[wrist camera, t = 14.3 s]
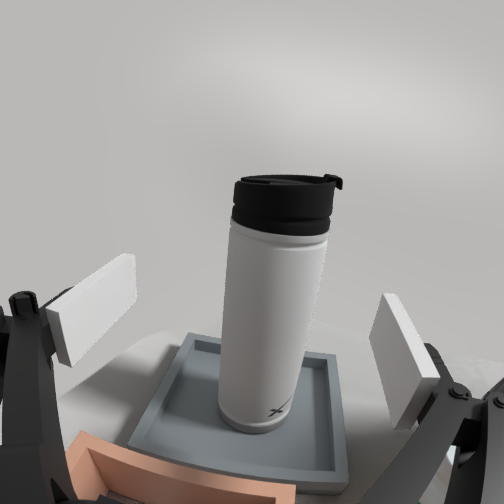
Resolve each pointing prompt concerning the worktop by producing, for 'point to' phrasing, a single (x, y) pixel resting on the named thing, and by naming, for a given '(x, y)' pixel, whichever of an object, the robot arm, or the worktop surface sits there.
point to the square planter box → (159, 478)
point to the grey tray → (241, 443)
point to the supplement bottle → (439, 481)
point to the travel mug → (271, 293)
